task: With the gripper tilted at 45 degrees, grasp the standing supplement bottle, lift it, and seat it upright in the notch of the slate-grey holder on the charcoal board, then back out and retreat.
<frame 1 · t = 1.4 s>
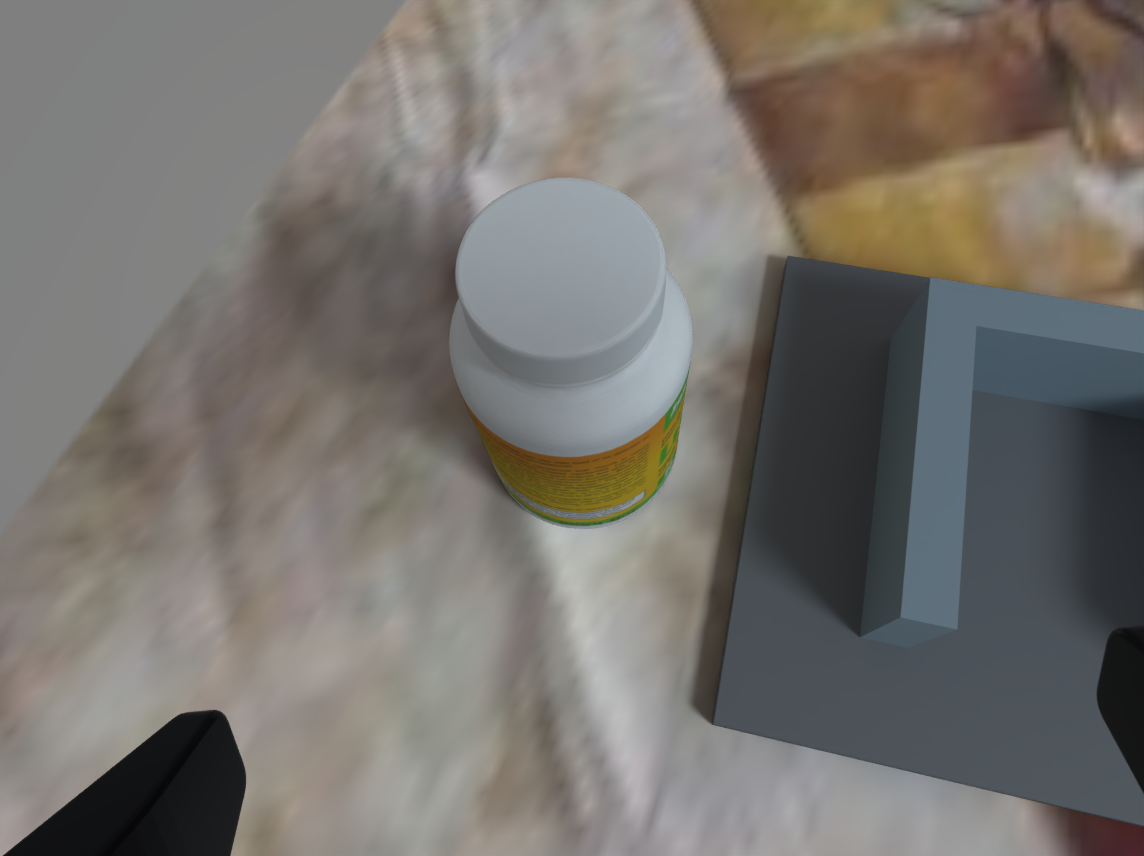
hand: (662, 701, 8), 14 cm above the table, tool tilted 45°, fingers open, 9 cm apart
supplement bottle: (584, 446, 25), on the table
notch holder: (1044, 528, 23), on the table
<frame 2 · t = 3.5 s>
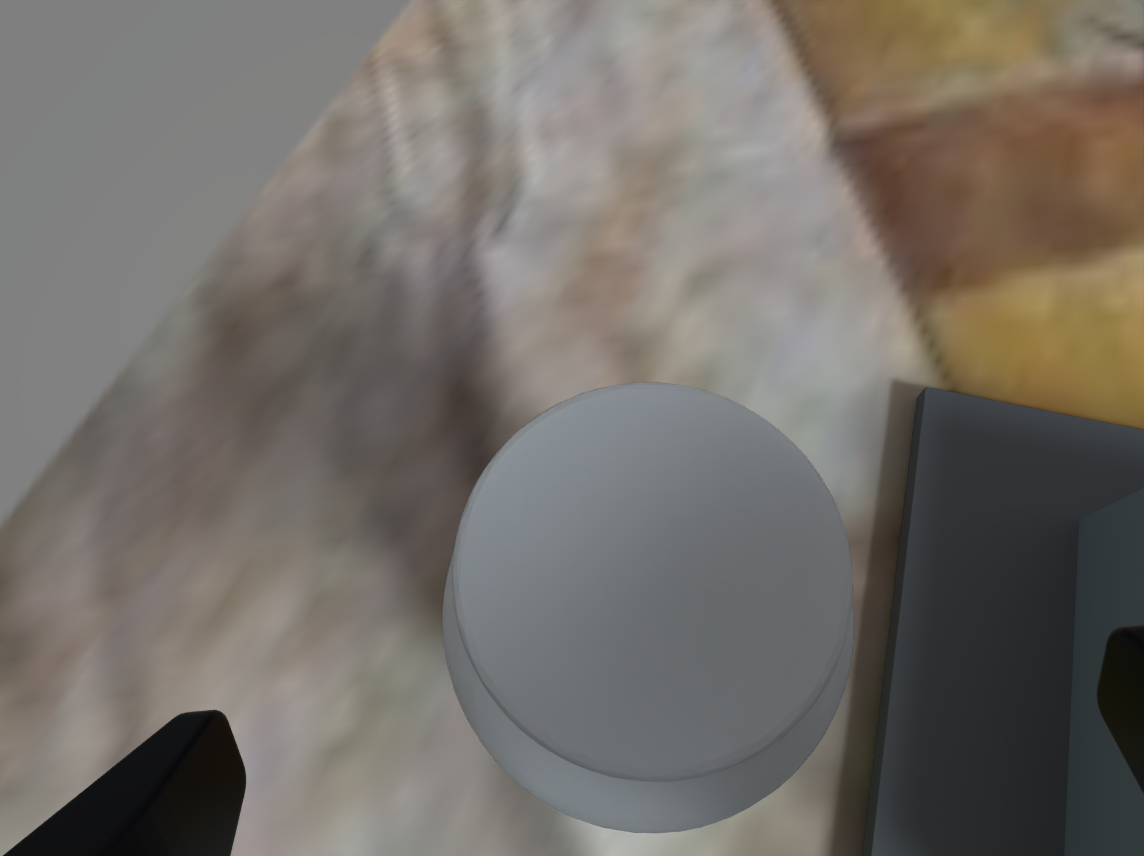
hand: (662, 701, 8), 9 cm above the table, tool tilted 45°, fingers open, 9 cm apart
supplement bottle: (637, 658, 17), on the table
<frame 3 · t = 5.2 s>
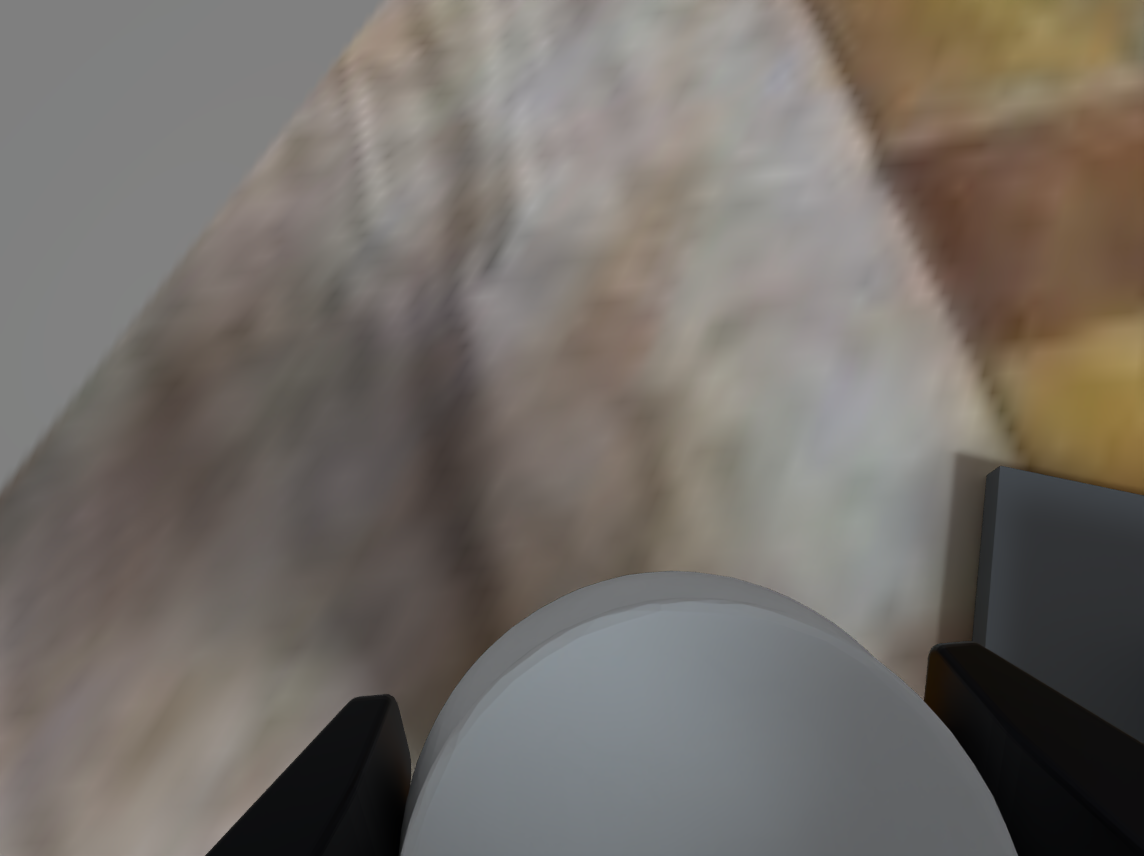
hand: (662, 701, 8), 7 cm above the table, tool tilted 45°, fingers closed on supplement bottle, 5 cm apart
supplement bottle: (654, 800, 14), on the table, touching gripper
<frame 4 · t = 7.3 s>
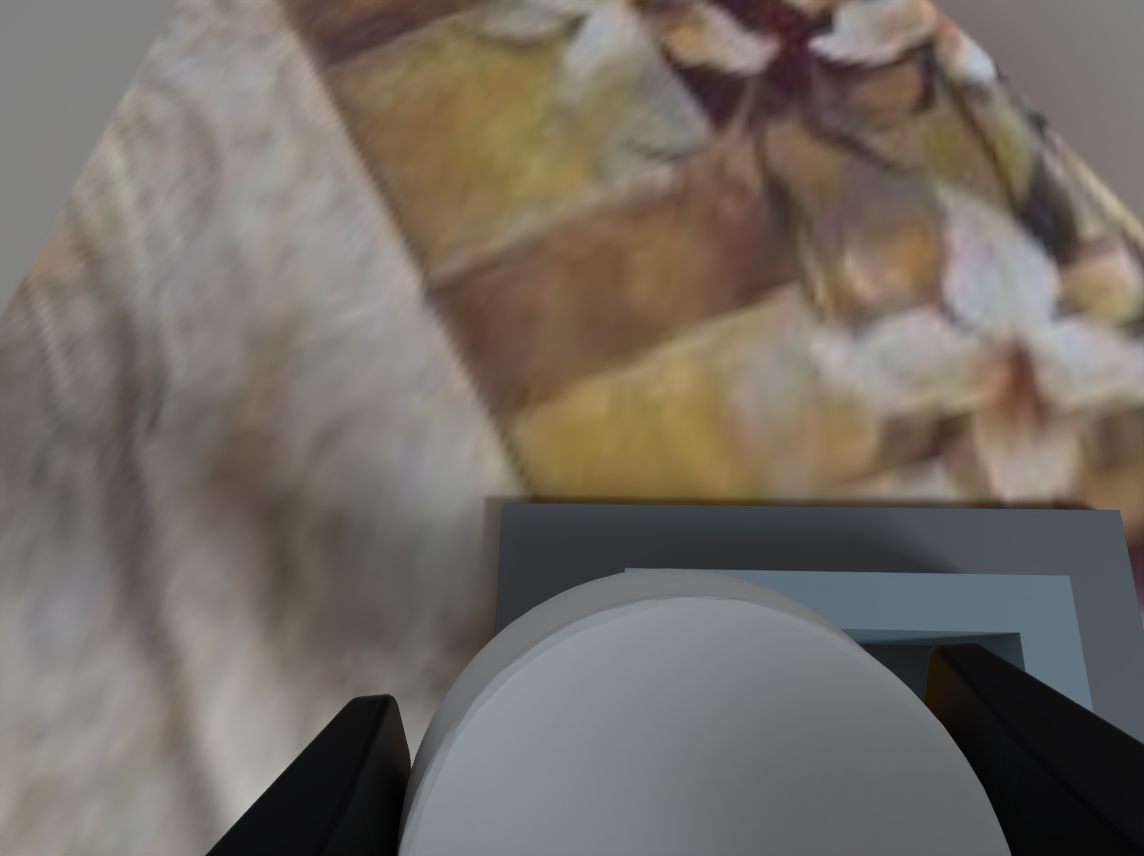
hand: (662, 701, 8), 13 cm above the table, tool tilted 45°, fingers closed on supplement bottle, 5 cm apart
supplement bottle: (650, 797, 14), point 6 cm above the table, touching gripper
notch holder: (817, 794, 20), on the table
when the fingers open (8 cm above the table, at t = 9.6 s): supplement bottle drops 1 cm, resting on notch holder.
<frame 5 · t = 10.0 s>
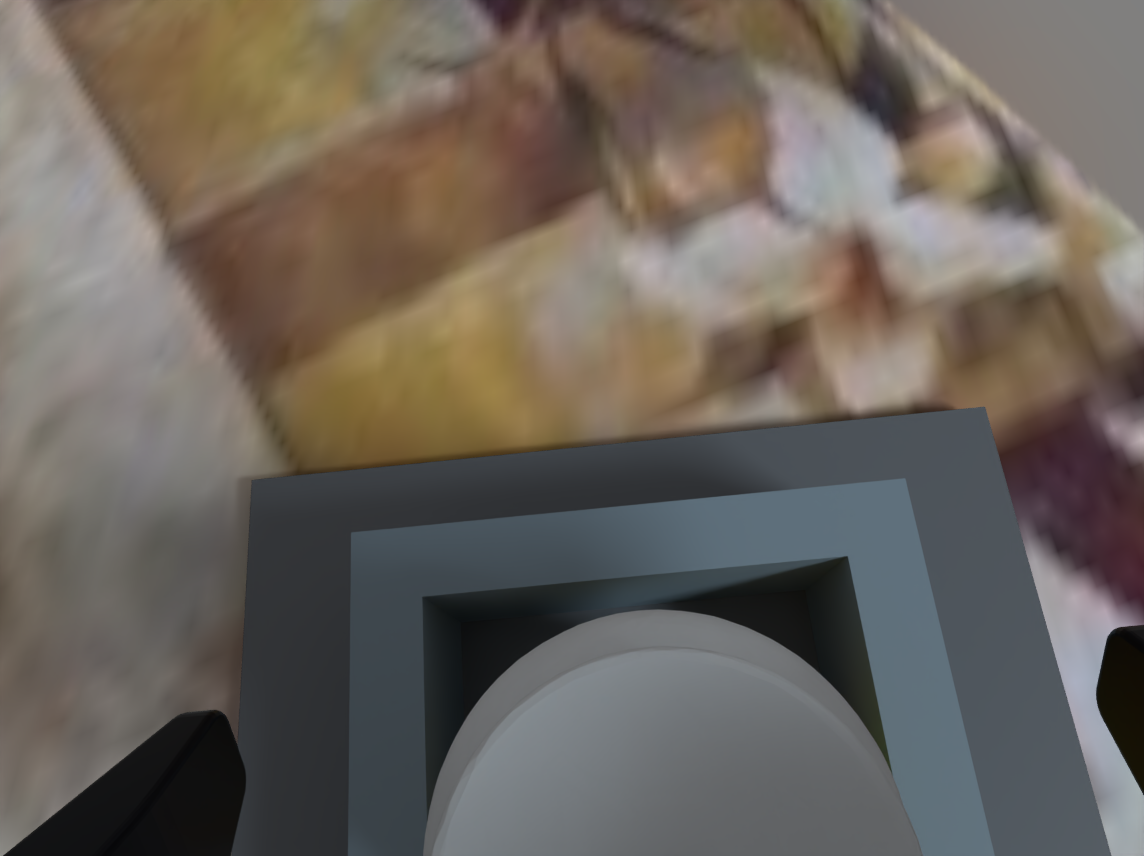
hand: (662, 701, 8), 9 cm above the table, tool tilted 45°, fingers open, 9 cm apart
supplement bottle: (651, 805, 16), resting on notch holder
notch holder: (651, 792, 16), on the table
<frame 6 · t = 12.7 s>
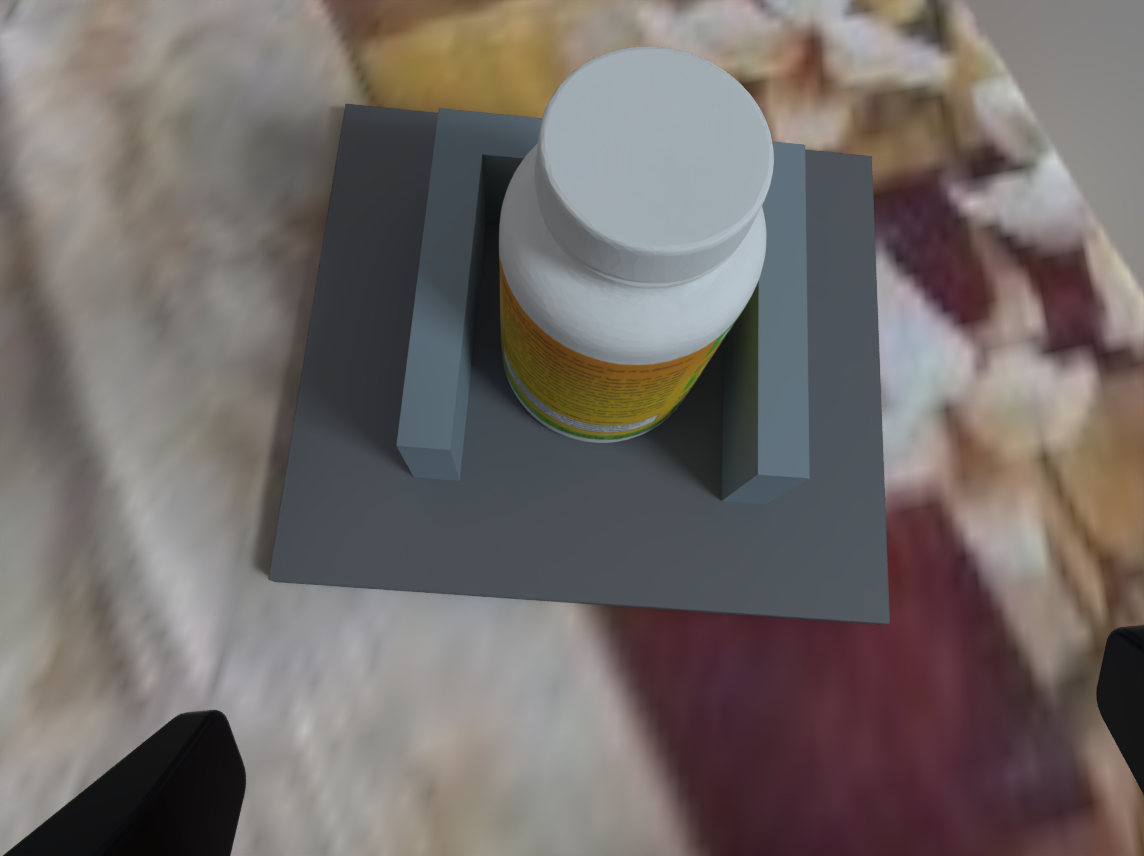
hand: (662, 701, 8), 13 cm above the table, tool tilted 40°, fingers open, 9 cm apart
supplement bottle: (597, 355, 23), resting on notch holder
notch holder: (597, 354, 24), on the table
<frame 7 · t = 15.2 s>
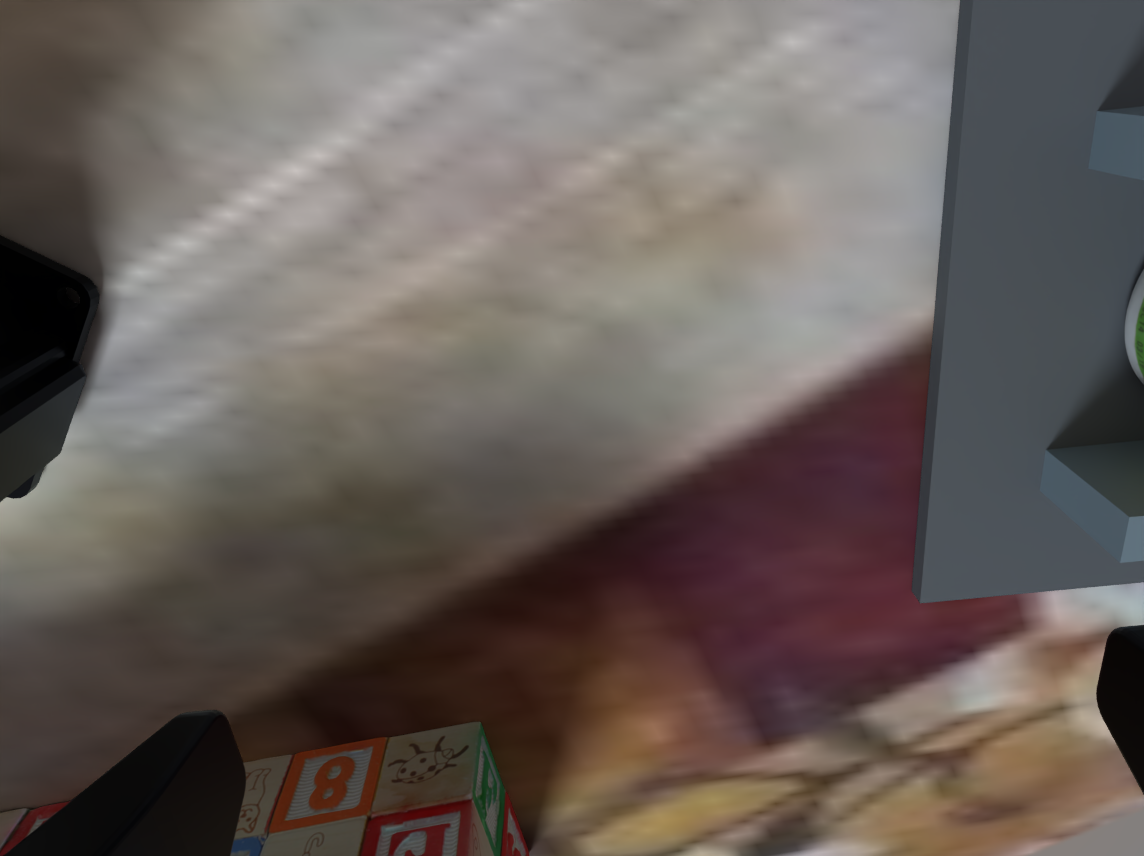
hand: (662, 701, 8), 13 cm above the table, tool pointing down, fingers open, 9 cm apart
stack of blocks: (204, 836, 28), on the table
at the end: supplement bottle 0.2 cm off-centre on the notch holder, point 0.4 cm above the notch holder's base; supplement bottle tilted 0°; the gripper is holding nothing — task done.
